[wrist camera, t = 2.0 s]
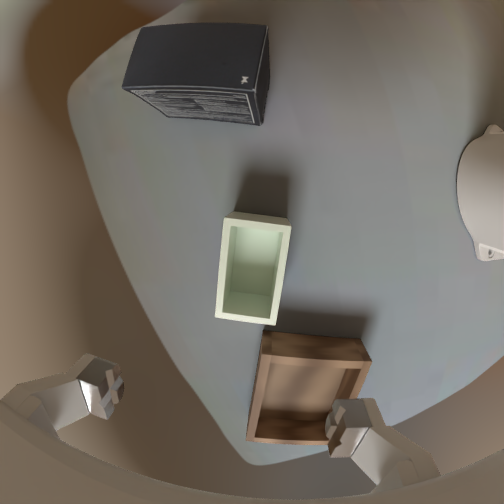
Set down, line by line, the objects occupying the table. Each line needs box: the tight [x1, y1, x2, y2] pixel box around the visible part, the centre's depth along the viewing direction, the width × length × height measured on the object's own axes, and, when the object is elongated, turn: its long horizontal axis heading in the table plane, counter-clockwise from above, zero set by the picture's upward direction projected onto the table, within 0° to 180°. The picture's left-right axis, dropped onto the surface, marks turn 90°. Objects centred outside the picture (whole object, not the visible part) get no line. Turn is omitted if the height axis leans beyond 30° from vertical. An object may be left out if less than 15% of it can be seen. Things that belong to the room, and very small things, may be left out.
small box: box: [122, 23, 270, 126], centre depth 20 cm, size 11×6×10 cm, turn 81°
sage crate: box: [215, 211, 291, 325], centre depth 26 cm, size 6×9×6 cm, turn 173°
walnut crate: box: [246, 330, 372, 445], centre depth 30 cm, size 12×15×5 cm
